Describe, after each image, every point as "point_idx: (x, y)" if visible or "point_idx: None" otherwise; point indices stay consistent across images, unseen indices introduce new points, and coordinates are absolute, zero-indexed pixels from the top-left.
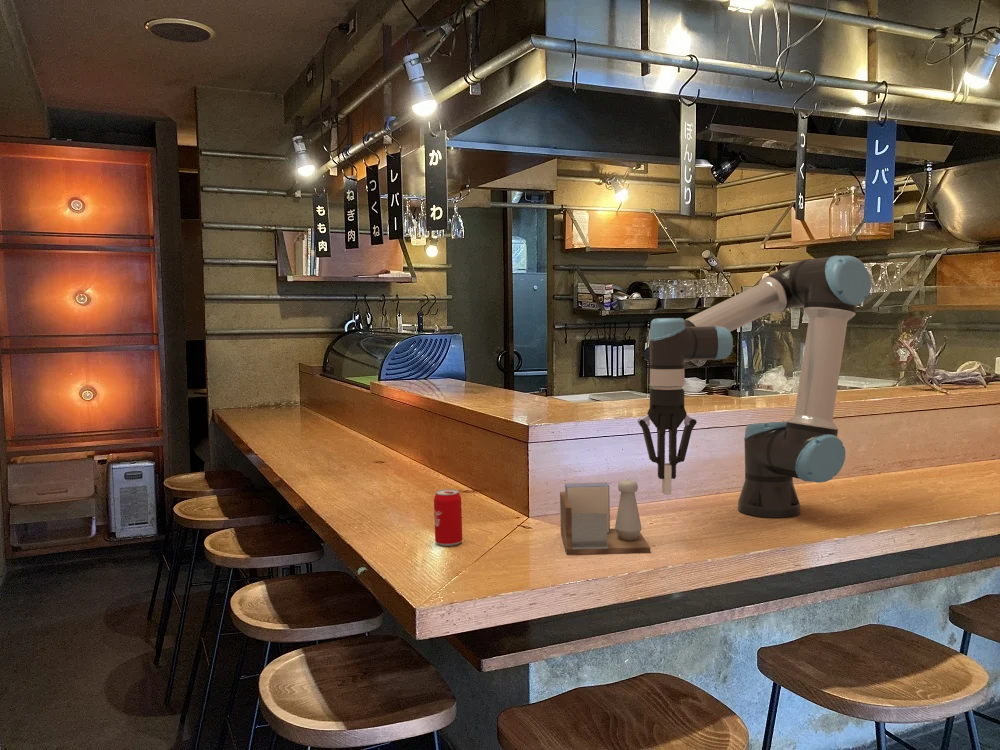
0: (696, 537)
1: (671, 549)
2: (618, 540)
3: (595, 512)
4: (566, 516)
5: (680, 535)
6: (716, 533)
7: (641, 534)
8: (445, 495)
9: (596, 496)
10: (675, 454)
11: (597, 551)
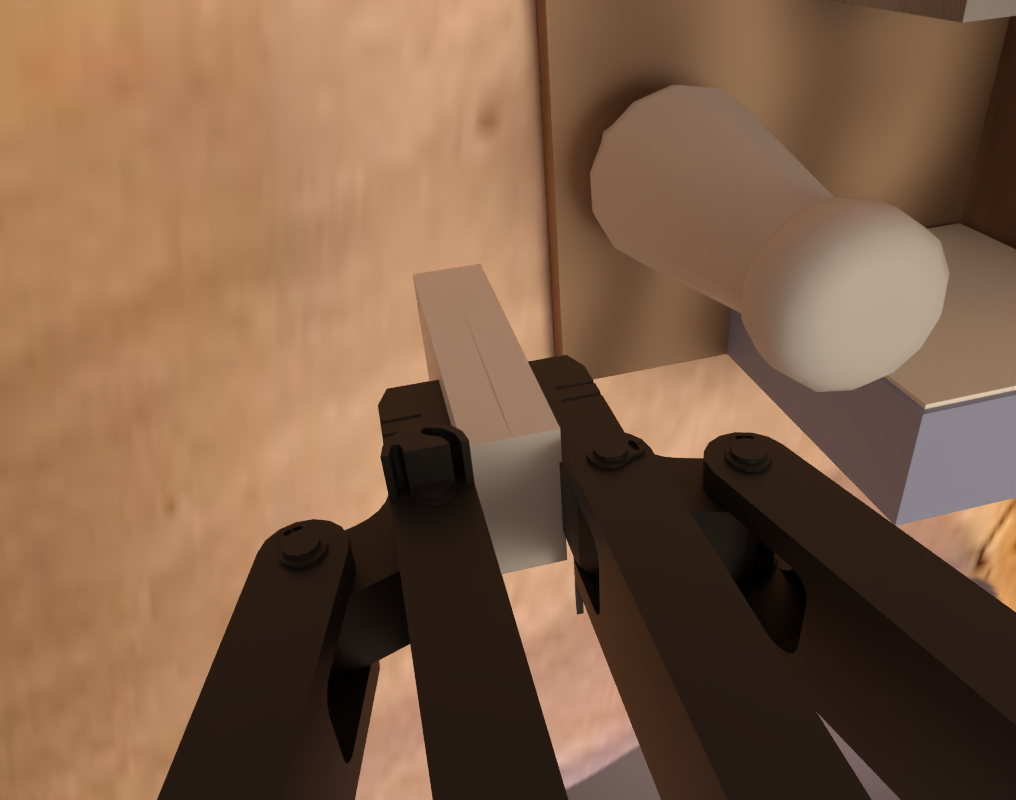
0: (206, 319)
1: (378, 18)
2: None
3: None
4: None
5: (309, 351)
6: (79, 416)
7: (559, 251)
8: None
9: (960, 351)
10: (422, 588)
11: None
